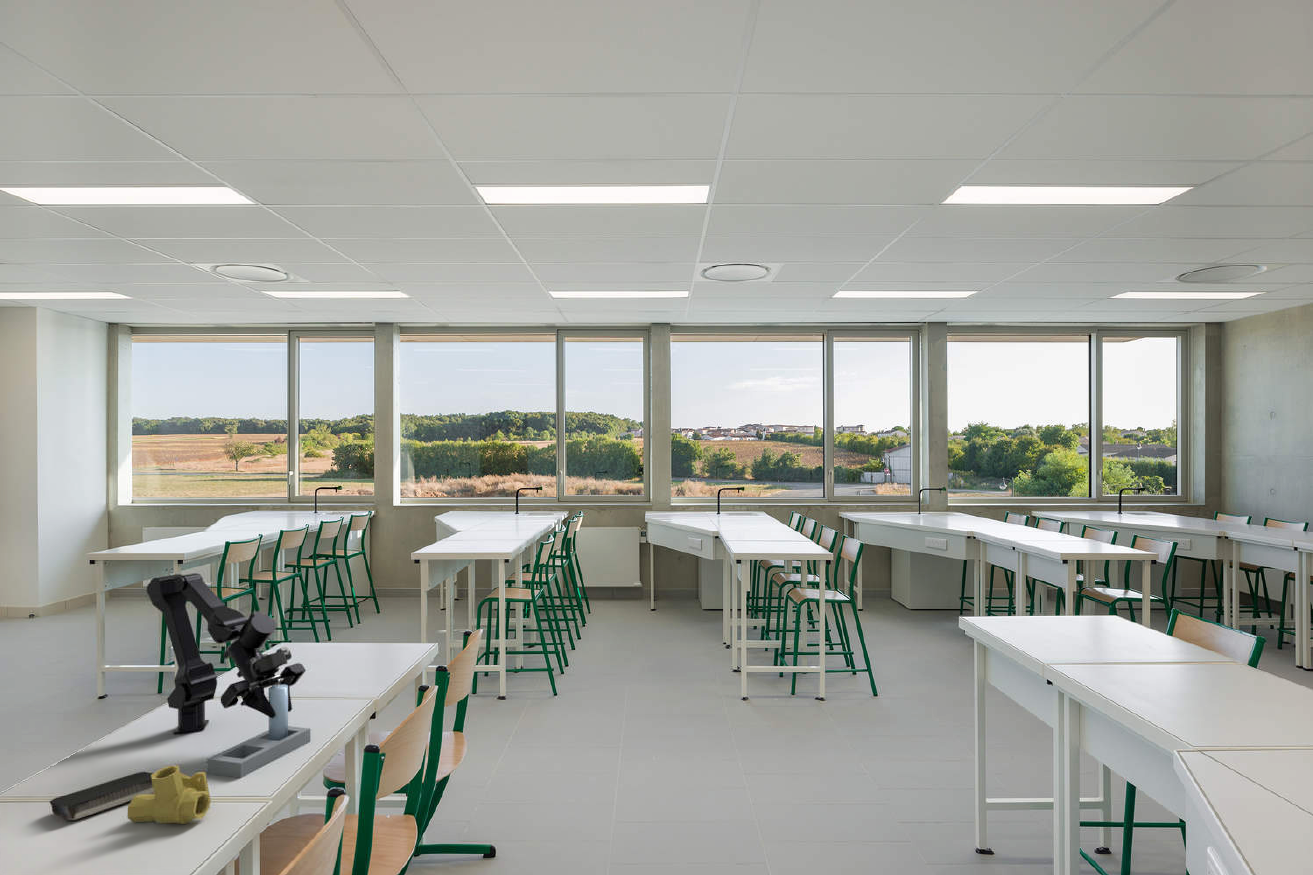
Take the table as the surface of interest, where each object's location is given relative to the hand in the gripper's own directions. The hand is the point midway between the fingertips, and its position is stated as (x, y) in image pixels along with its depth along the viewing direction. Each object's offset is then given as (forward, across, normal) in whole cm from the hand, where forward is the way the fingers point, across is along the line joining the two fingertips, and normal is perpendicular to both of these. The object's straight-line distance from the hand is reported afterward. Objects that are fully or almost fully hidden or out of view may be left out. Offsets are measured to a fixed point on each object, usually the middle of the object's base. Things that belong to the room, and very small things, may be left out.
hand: (282, 713), depth 172 cm
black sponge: (0, -32, +12) cm, 35 cm away
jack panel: (+5, -5, +6) cm, 9 cm away
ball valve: (+12, -30, 0) cm, 32 cm away
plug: (+4, 0, +6) cm, 7 cm away
